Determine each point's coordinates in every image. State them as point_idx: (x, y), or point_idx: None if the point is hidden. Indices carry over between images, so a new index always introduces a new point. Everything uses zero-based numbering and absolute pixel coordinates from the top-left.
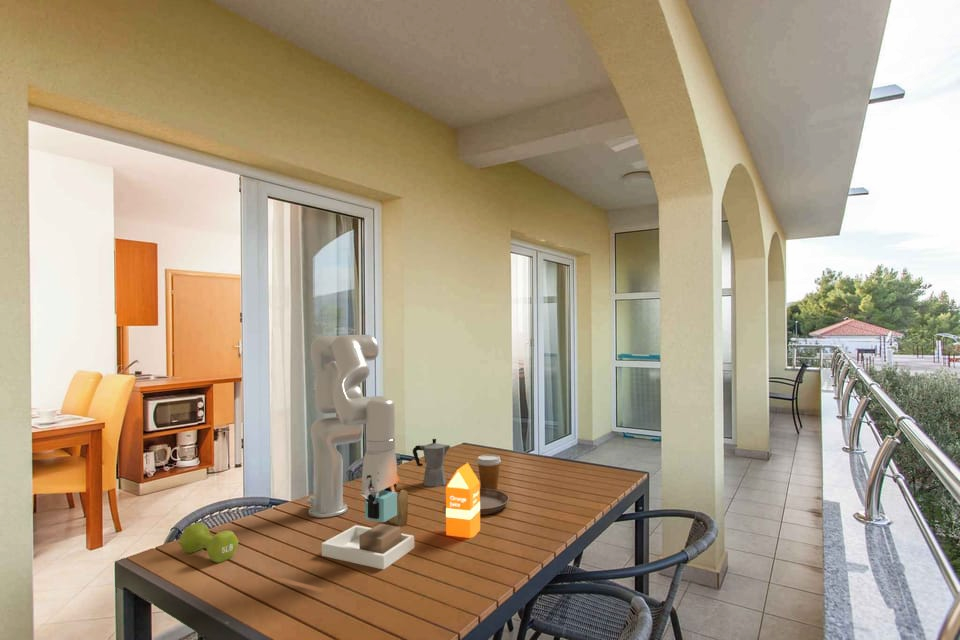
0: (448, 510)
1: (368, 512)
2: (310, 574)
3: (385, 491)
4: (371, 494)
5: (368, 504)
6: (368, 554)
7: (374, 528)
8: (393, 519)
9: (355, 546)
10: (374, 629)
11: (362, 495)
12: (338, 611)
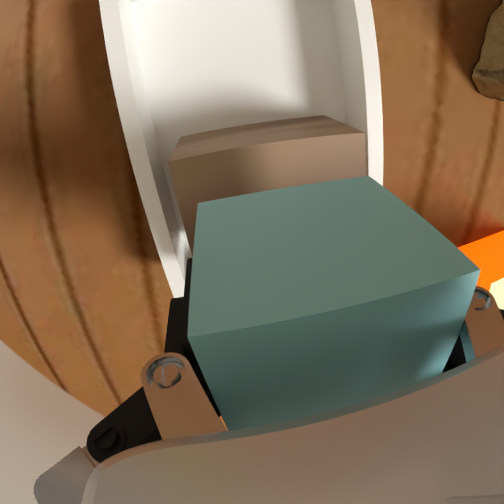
0: (501, 303)
1: (187, 283)
2: (24, 87)
3: (436, 357)
4: (217, 425)
5: (183, 332)
6: (153, 235)
7: (290, 156)
8: (499, 38)
9: (260, 29)
10: (51, 378)
11: (57, 464)
12: (15, 307)
